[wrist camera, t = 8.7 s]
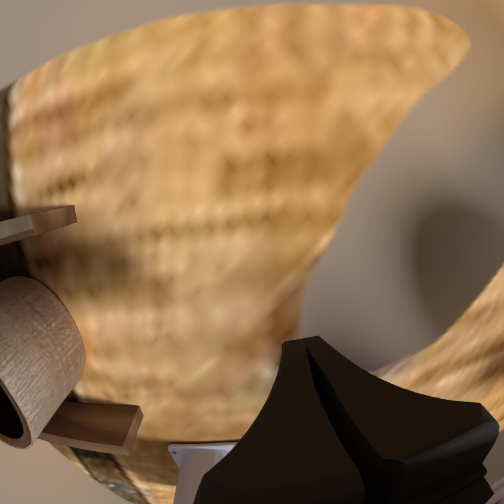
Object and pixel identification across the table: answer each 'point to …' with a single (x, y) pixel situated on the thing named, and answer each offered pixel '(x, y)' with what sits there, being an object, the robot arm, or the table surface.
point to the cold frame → (73, 413)
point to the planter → (34, 358)
